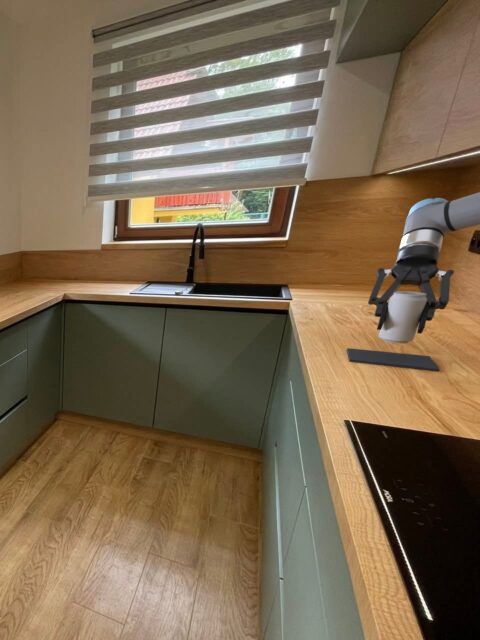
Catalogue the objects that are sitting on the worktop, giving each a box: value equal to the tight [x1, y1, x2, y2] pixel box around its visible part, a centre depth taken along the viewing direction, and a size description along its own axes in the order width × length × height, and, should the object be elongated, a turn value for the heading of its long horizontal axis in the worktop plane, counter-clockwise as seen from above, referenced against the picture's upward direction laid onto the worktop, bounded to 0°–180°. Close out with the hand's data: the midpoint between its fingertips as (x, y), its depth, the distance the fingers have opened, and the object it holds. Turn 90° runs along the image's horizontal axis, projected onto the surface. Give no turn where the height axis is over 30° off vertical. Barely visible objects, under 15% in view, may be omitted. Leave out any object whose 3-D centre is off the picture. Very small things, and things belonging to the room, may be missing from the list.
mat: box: [346, 347, 441, 372], centre depth 108 cm, size 16×12×1 cm
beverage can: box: [378, 290, 427, 344], centre depth 105 cm, size 6×6×12 cm
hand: (399, 328), depth 103 cm, fingers closed on beverage can, 6 cm apart
